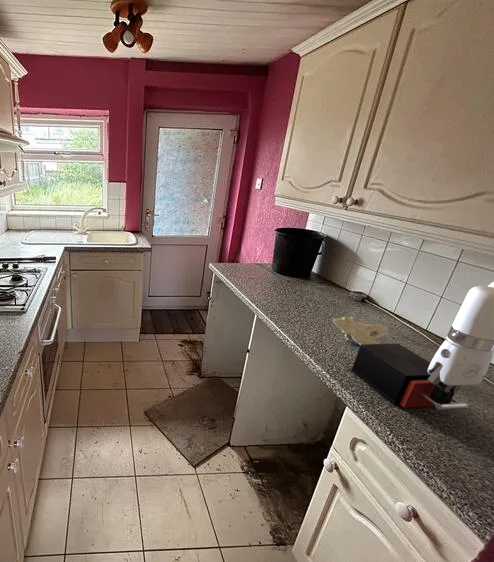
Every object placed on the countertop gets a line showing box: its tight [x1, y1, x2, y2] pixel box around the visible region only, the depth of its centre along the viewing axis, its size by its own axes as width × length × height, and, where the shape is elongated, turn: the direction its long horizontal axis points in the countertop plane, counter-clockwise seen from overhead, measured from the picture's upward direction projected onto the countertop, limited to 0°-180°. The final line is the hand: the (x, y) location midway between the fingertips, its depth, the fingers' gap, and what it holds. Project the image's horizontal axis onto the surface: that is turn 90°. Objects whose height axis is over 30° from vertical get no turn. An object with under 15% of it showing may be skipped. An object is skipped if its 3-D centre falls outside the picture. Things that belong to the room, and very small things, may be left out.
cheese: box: [332, 316, 391, 346], centre depth 110 cm, size 15×7×15 cm
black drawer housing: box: [351, 343, 431, 406], centre depth 89 cm, size 15×13×10 cm
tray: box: [398, 377, 469, 411], centre depth 84 cm, size 19×11×8 cm, turn 5°
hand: (438, 401), depth 79 cm, fingers closed
